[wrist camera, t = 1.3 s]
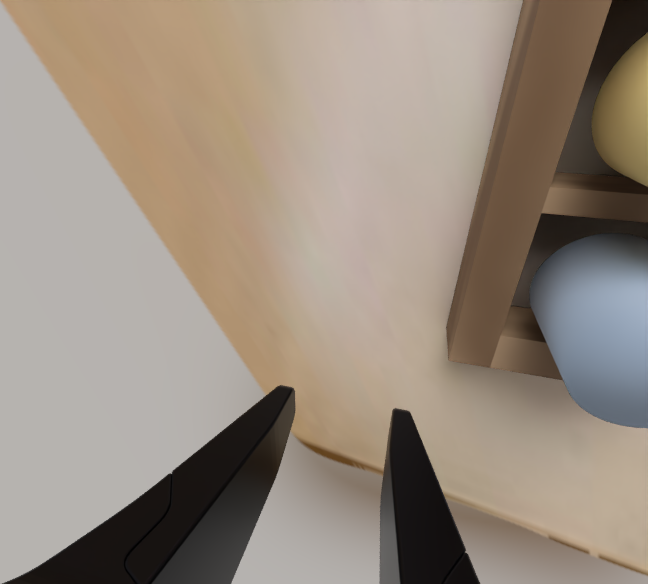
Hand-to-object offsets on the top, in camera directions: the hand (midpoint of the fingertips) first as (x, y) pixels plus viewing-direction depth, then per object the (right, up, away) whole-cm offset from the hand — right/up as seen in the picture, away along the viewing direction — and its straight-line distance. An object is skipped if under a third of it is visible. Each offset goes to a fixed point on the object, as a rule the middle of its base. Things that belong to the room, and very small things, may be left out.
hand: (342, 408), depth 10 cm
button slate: (+11, +3, +6) cm, 13 cm away
